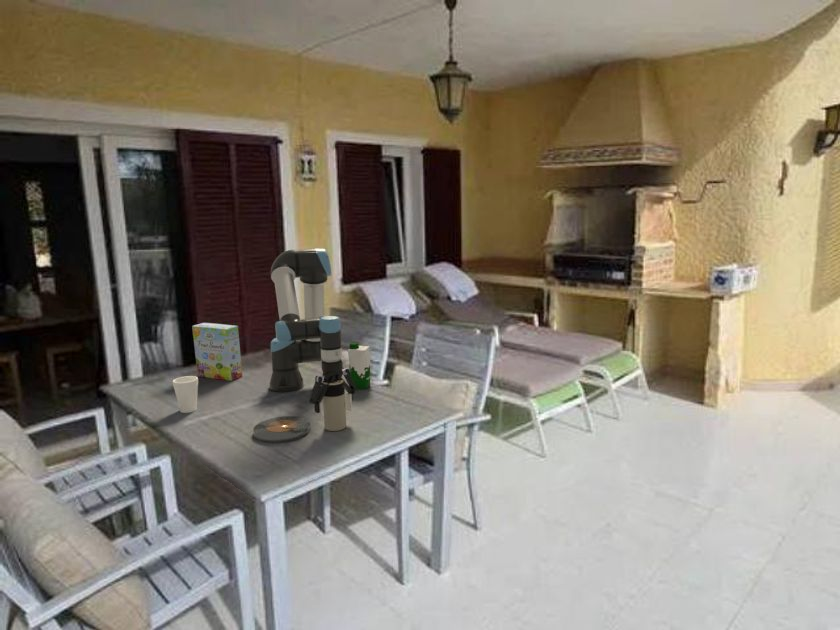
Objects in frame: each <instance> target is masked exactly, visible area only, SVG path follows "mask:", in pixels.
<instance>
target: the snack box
mask: <svg viewBox="0 0 840 630" xmlns="http://www.w3.org/2000/svg"><path fill="white" fill-rule="evenodd" d="M191 327H192V328H191V329H192V336H193V337H192V338H193V346H194V355H195V363H196V373H197V377H201V378H207V379H208V378H209V379H213V380H214V379H215V380H223V381H228V382H229V381H230V382H232V381H235V380H237V379H240V378H242V377H243V372H242V371H243V370H242V369H243V368H242V357H241V347H240V346H241V345H240V335H239V325H234V324H233V325H232V324H223V323H211V322H201V323H199V324H194V325H192V326H191Z"/></svg>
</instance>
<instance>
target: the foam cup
mask: <svg viewBox="0 0 840 630" xmlns="http://www.w3.org/2000/svg"><path fill="white" fill-rule="evenodd" d="M198 377H199V376H195V375H188V376H187V375H186V376H184V375H183V376H179V377H177V378H176V377H175V378H174V379H173V380H172V387H173V389H174V393H175V398H176V400H177V405H178V408H179V411H180V413H181V414H182V413H183V414H188V413H193V412H196V411H197V410H198V390H199V389H198V388H199V378H198Z"/></svg>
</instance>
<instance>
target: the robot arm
mask: <svg viewBox="0 0 840 630" xmlns="http://www.w3.org/2000/svg"><path fill="white" fill-rule="evenodd" d="M331 267H332V266H331V262H330V257H329V253H328V251H327V250H326V249H325V248H316V247H315V248H306V249H305V248H303V249H289V250H285V251H283V252H281V253H280V254H279V255H278V256H277V257H276V258H275V260H274V261H273V263H272V265H271V268H270V279H271V281H272V282H273V283H274V288H275V297H276V302H277V303H276V304H277V310H278V316H279V321H276V322H275V325H274V327H275V329H274V330H275V338H273V339H272V340H271V341H270V350H269V351H270V353H271V354H270V355H271V356H270V357H271V367H272V368H271V369H272V370H271V371H272V372H271V376H270V379H269V390H270V391H274V392H279V393H284V392H285V393H286V392H293V391H297V390H300V389H301V388H303V387H304V386H305V385H304V384H305V383H304V378H303V377H302V374H301V372H300V368H299V364H306V363H314V362H315V363H316V362H321V371H322V375H315V377H314V378H315V379H314V380H315V381H314V384H313V388H312V391H311V394H310V397H309V400H308V403H309V404H311V405H314V407H313V408H314V413H316V421H317V422H318V421H319V422H322V423H323V422H324V409H323V403H321V402H323V397H324V395H325V393H326V391H327V389H328V388H329V387H330V386H329V384H330V383H332V382H334V381H338V380H343V387H344V388H345V408H346V411H350V412H353V401H354V394H355V393H356V391H357V390H358V389H357V387H356V385H355V383H354V381H353V379H352V377H351V375H350V371H349V368H347V367H344V365H343V364H344V361H343V359H342V358H343V350H342V349H343V348H342V325H341V318H340V317H339V316H335V315H325V283H327V281H328V277H330V276H331V275H332V268H331ZM296 278H299V282H301V283H302V284H303V305H304V319H302V318H301V315H300V310H299V304H298V298H297V292H296V286H295V279H296ZM343 377H344V378H343ZM344 379H345V380H344ZM345 381H346V382H345ZM323 382H326V383H328V384H327V385H326V384H323Z"/></svg>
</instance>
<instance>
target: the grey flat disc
mask: <svg viewBox="0 0 840 630" xmlns="http://www.w3.org/2000/svg"><path fill="white" fill-rule="evenodd" d="M252 431H253V438H255V440H257V441H259V442H262V443H268V444H281V443H287V442H292V441H295V440H299V439H301V438H303V437H305V436H306V435H308V434H309V433H310V431H311V423H310V420H308V419H306V418H305V417H300V416H295V415H290V416H289V415H287V416H284V415H283V416H277V417H276V416H275V417H273V418H272V417H271V418H268V419H264V420H263V421H260V422H259V423H257V424H256V425H255V426H254V427H253V430H252Z"/></svg>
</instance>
